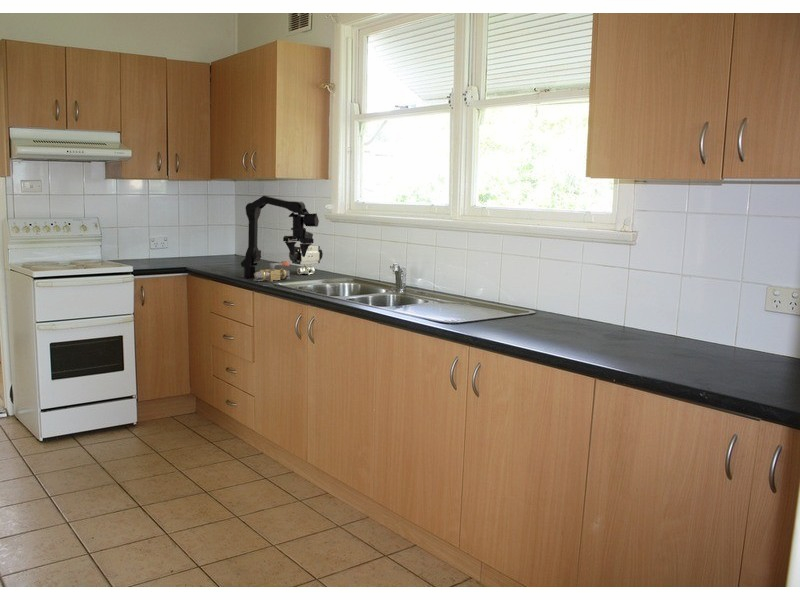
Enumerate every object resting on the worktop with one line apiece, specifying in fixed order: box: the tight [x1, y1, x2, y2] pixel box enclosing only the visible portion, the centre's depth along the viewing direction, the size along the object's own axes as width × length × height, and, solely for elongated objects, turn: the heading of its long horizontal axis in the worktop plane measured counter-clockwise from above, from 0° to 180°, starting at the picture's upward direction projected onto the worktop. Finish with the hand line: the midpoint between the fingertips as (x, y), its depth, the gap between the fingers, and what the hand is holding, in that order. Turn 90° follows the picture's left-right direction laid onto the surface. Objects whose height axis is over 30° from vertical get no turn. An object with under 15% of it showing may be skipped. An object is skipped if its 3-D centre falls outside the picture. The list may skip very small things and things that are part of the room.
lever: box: [268, 260, 290, 270], centre depth 379 cm, size 12×4×4 cm, turn 131°
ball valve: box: [288, 244, 324, 276], centre depth 402 cm, size 18×8×18 cm, turn 131°
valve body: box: [253, 267, 291, 282], centre depth 377 cm, size 20×6×6 cm, turn 136°
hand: (298, 256), depth 377 cm, fingers open, 9 cm apart
